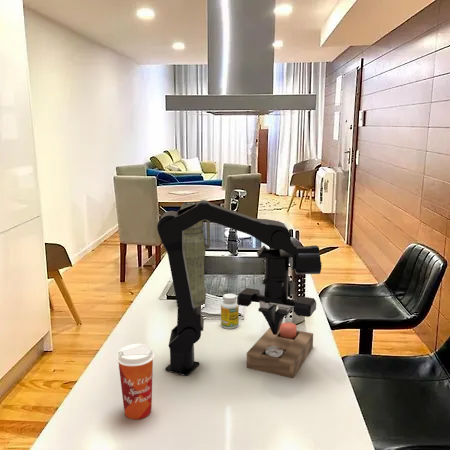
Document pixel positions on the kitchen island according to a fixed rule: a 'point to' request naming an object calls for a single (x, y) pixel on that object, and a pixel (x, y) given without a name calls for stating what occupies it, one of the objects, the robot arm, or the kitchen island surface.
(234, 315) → the supplement bottle
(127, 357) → the paper cup
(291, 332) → the pink round plug
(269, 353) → the grey plunger
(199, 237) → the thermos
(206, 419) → the kitchen island surface
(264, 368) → the press box
